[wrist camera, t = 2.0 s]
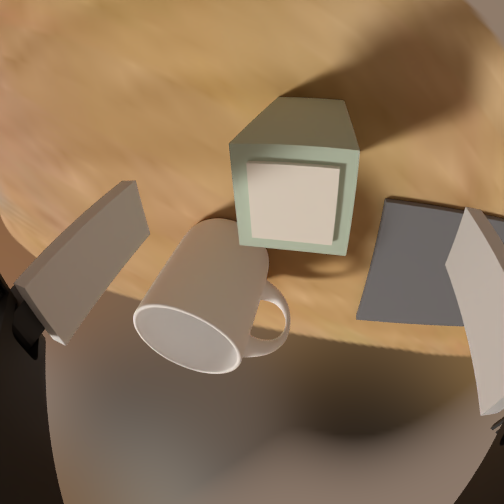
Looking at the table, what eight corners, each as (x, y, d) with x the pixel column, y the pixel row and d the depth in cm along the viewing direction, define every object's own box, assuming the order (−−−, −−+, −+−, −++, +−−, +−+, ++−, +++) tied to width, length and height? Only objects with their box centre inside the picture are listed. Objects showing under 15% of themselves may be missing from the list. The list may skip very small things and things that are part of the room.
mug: (277, 309, 32) (255, 397, 24) (178, 260, 31) (130, 340, 23) (320, 260, 26) (306, 364, 18) (199, 198, 25) (137, 285, 17)
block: (278, 96, 18) (226, 146, 10) (344, 100, 17) (360, 153, 9) (280, 155, 21) (237, 248, 12) (341, 159, 20) (346, 259, 11)
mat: (385, 198, 21) (386, 202, 20) (517, 221, 18) (519, 225, 17) (356, 315, 29) (356, 319, 29) (464, 322, 26) (465, 326, 26)
